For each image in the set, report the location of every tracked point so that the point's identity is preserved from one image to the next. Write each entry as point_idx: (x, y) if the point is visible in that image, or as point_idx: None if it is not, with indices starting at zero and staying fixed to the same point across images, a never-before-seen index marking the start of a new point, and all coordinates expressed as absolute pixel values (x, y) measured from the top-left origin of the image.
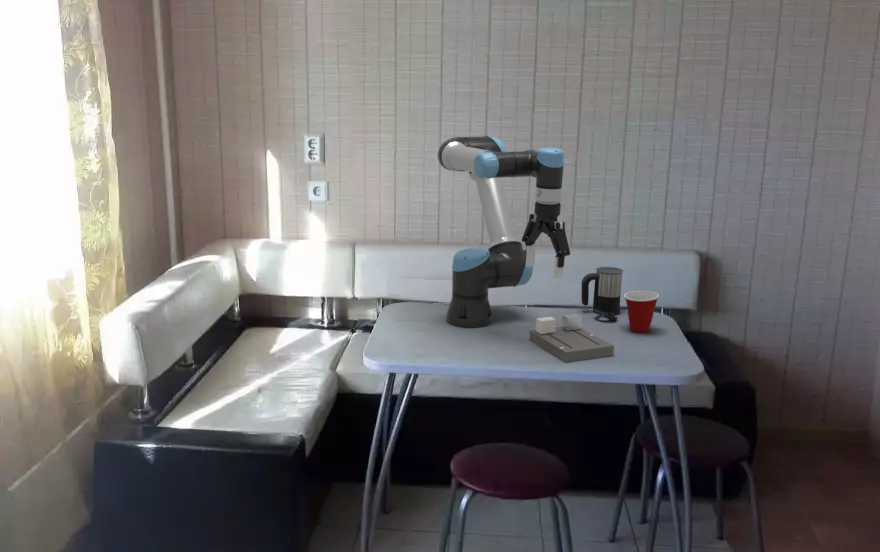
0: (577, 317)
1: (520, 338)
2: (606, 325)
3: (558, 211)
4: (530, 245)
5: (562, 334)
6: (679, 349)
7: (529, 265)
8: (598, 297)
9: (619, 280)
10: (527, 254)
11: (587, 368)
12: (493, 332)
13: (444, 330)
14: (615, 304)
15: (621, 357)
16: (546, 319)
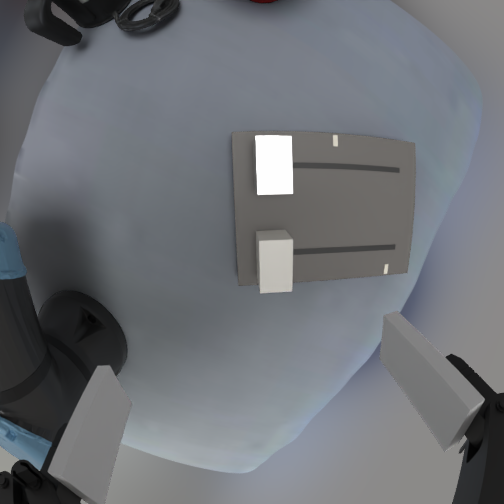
0: (291, 153)
1: (220, 290)
2: (194, 29)
3: None
4: (72, 491)
5: (302, 215)
6: (394, 11)
7: (123, 398)
8: (87, 4)
9: None
10: (111, 461)
11: (431, 239)
12: (162, 327)
13: (138, 394)
14: None
15: (413, 135)
16: (282, 269)
